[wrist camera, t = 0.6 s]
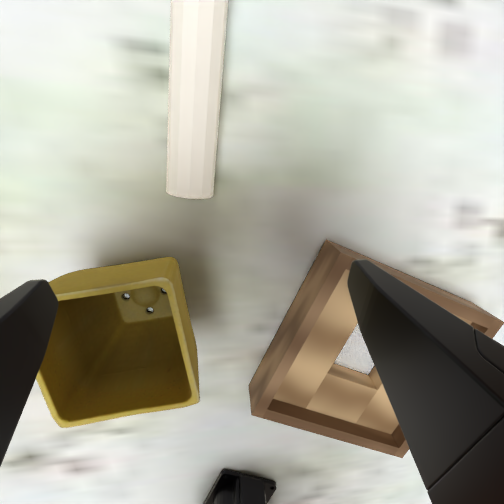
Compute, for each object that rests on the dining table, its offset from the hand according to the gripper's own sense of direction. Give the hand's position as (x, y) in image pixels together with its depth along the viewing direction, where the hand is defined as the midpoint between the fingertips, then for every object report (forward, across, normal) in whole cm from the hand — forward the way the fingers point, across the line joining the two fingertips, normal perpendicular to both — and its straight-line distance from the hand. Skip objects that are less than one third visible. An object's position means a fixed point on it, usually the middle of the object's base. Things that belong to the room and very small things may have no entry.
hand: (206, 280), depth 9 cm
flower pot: (+13, +6, +12) cm, 19 cm away
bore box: (+10, -12, +19) cm, 25 cm away
